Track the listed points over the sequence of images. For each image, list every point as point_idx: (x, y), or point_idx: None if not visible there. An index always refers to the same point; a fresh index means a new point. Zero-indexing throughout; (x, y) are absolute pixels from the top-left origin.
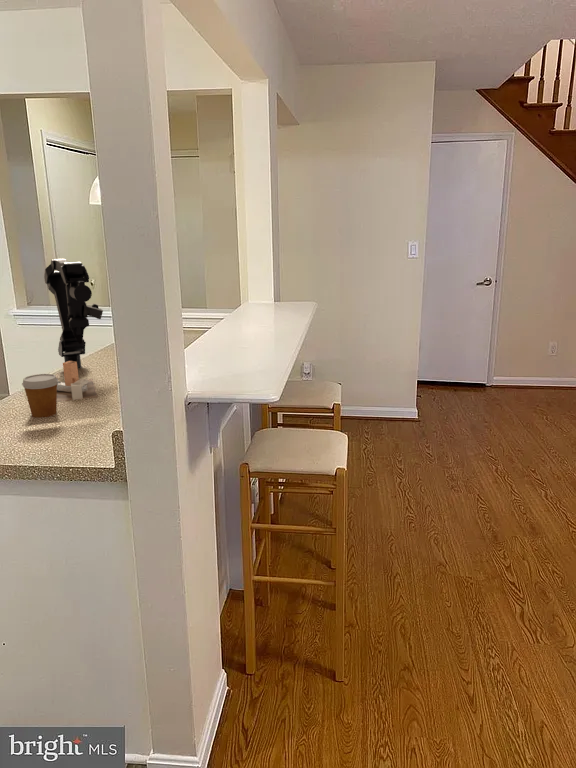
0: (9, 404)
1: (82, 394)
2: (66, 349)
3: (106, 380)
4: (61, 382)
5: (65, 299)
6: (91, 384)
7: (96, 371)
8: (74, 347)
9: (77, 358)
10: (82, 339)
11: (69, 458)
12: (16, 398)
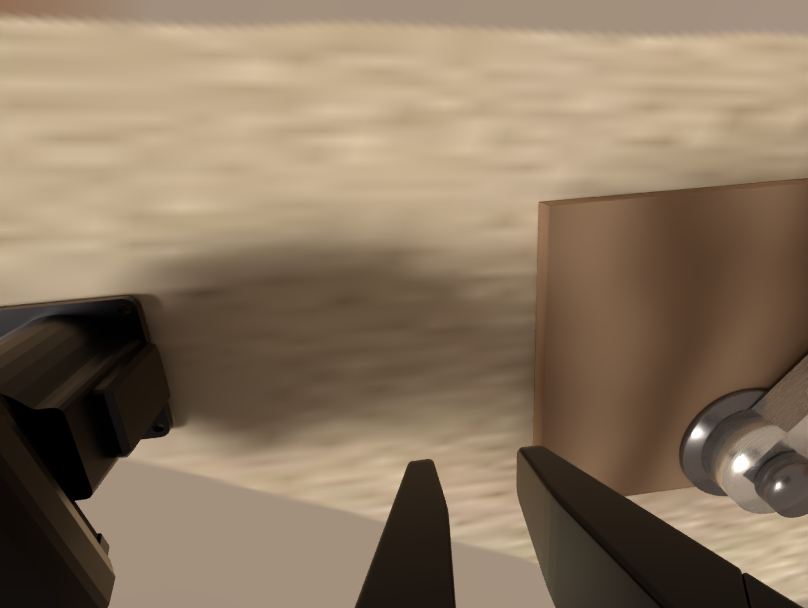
0: (791, 593)
1: None
2: (111, 575)
3: (528, 79)
4: (804, 427)
5: None
6: (727, 209)
7: (145, 172)
8: (49, 503)
9: (54, 389)
10: (616, 493)
11: None
12: None
